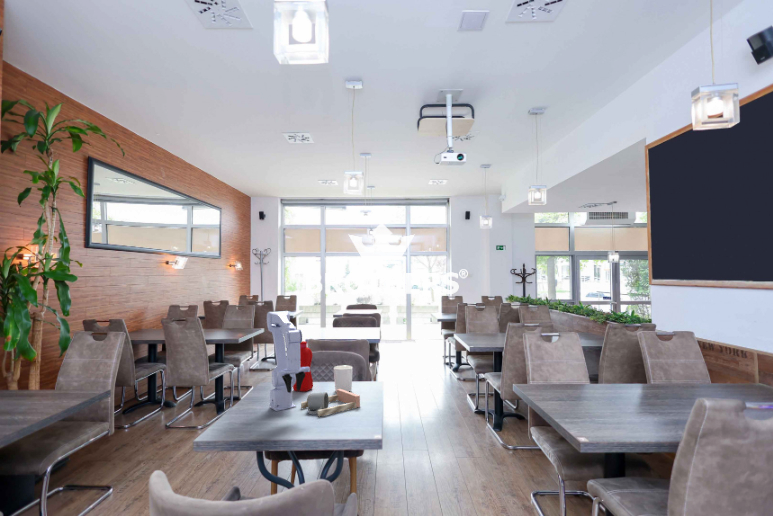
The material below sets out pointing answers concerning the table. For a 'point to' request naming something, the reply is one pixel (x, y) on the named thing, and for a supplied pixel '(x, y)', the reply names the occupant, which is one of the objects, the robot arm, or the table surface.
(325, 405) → the ceramic mug
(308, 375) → the water bottle
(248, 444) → the table surface
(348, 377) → the candle holder
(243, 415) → the table surface
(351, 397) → the end stop
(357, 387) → the table surface
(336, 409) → the rails
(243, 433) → the table surface
